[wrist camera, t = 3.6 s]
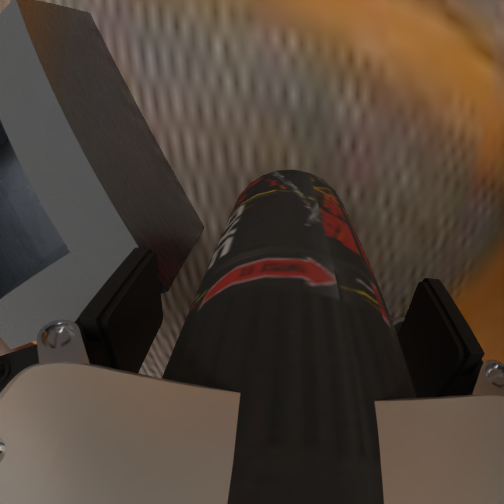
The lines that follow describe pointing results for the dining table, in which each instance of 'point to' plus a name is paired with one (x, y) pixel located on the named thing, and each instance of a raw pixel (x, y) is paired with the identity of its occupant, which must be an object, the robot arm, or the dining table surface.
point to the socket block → (74, 172)
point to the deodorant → (295, 346)
